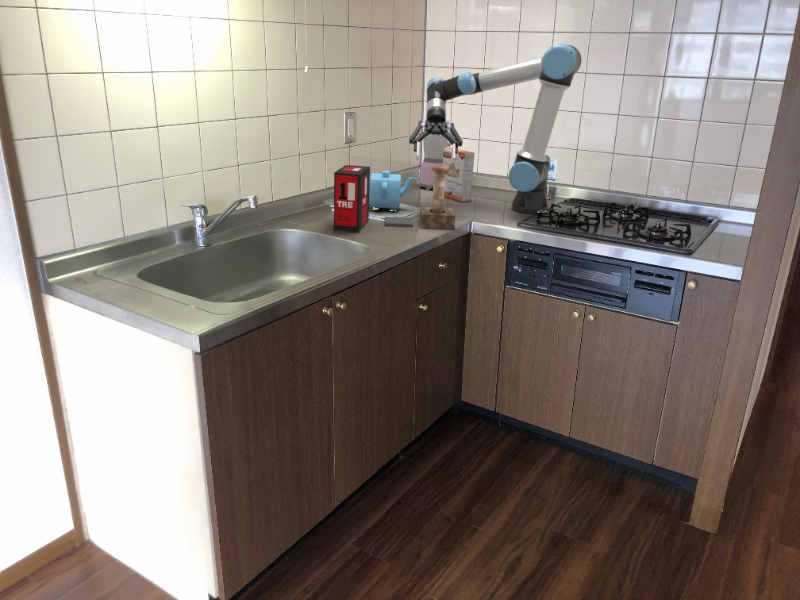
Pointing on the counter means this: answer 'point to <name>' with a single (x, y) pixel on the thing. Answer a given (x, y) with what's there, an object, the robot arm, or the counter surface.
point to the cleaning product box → (351, 198)
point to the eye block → (437, 218)
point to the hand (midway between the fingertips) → (435, 159)
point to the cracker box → (458, 174)
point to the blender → (432, 157)
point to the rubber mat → (398, 221)
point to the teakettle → (387, 190)
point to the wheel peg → (438, 187)
